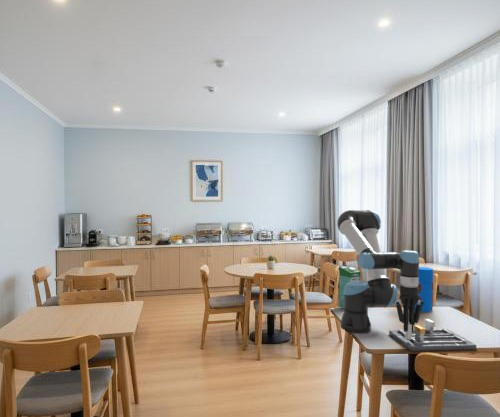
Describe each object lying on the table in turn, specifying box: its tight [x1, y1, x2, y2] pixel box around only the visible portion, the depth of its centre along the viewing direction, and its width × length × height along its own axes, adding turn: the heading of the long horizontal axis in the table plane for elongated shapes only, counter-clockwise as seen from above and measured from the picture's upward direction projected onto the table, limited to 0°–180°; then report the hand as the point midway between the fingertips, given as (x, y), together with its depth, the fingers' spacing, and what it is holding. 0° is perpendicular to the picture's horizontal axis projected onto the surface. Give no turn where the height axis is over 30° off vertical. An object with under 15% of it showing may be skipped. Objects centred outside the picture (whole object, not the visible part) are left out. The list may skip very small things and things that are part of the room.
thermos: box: [415, 266, 434, 313], centre depth 221 cm, size 11×11×25 cm
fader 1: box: [413, 324, 425, 342], centre depth 163 cm, size 2×5×6 cm, turn 5°
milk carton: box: [338, 265, 362, 309], centre depth 222 cm, size 9×9×25 cm
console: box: [388, 328, 477, 352], centre depth 168 cm, size 30×20×3 cm
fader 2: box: [423, 318, 436, 334], centre depth 173 cm, size 2×5×6 cm, turn 5°
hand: (408, 338), depth 162 cm, fingers closed
